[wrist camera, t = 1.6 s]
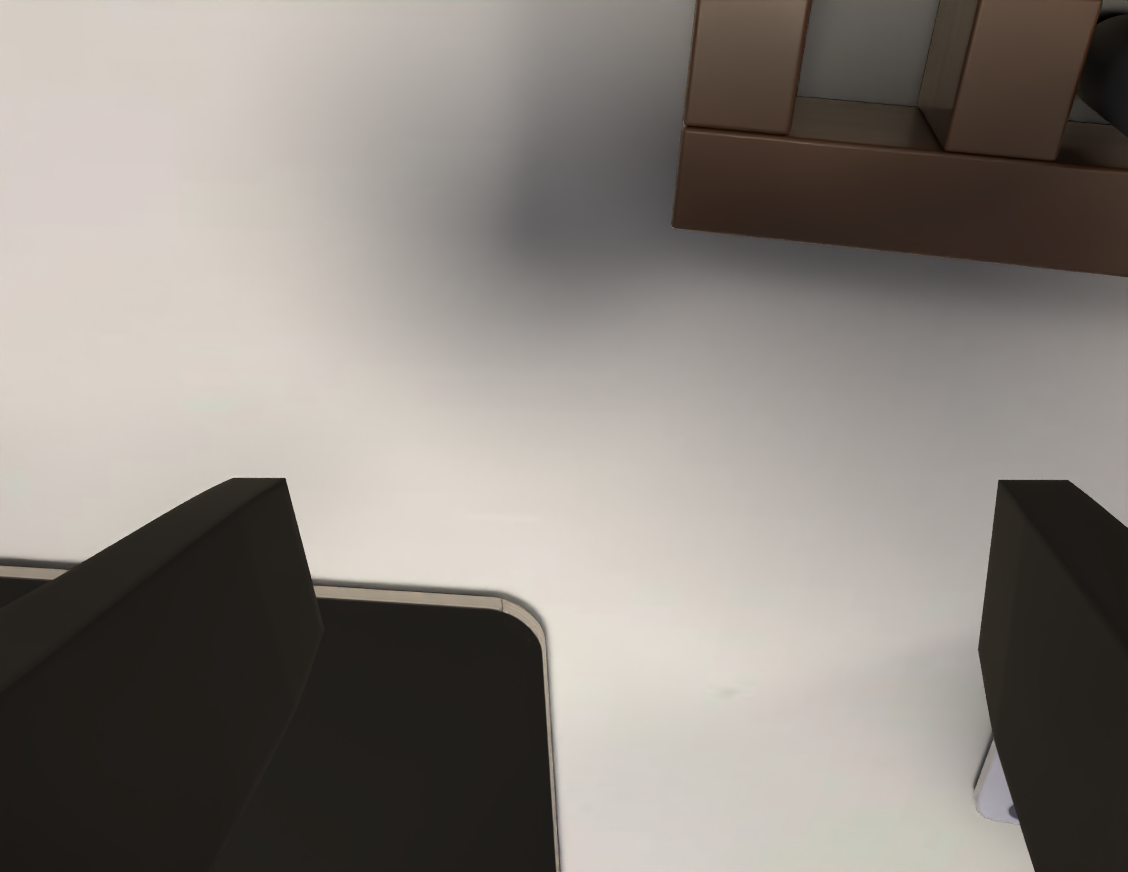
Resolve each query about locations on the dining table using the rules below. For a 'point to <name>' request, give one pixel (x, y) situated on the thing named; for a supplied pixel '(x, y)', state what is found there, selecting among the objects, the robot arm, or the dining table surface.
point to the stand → (907, 141)
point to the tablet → (403, 741)
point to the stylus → (1108, 72)
